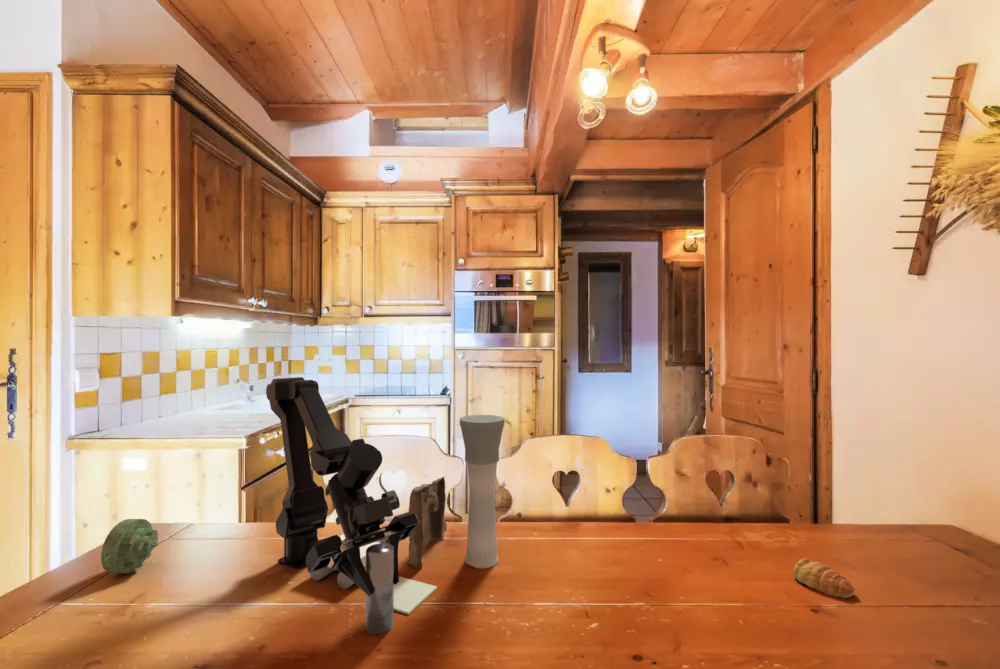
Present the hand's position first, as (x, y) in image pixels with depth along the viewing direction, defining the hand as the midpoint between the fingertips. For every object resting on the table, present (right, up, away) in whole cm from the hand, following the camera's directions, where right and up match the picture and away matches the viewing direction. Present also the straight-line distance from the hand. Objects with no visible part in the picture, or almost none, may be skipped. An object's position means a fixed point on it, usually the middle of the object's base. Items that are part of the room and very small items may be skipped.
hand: (384, 588), depth 74 cm
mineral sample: (+3, -7, +28) cm, 29 cm away
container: (+15, -7, +23) cm, 29 cm away
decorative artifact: (-54, -7, +19) cm, 58 cm away
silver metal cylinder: (-1, -7, +1) cm, 7 cm away
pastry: (+80, -7, +14) cm, 82 cm away
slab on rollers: (-12, -7, +18) cm, 23 cm away
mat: (+1, -7, +10) cm, 12 cm away
